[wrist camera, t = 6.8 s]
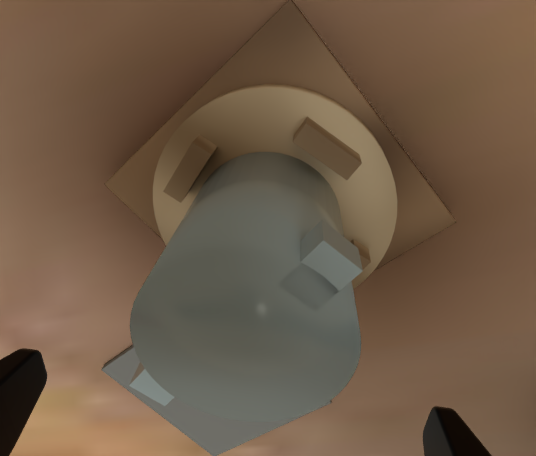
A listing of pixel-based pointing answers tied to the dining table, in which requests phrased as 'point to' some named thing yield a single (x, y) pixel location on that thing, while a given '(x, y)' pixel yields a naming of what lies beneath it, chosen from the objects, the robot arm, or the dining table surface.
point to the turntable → (290, 143)
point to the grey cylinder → (252, 297)
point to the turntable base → (309, 77)
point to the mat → (192, 412)
